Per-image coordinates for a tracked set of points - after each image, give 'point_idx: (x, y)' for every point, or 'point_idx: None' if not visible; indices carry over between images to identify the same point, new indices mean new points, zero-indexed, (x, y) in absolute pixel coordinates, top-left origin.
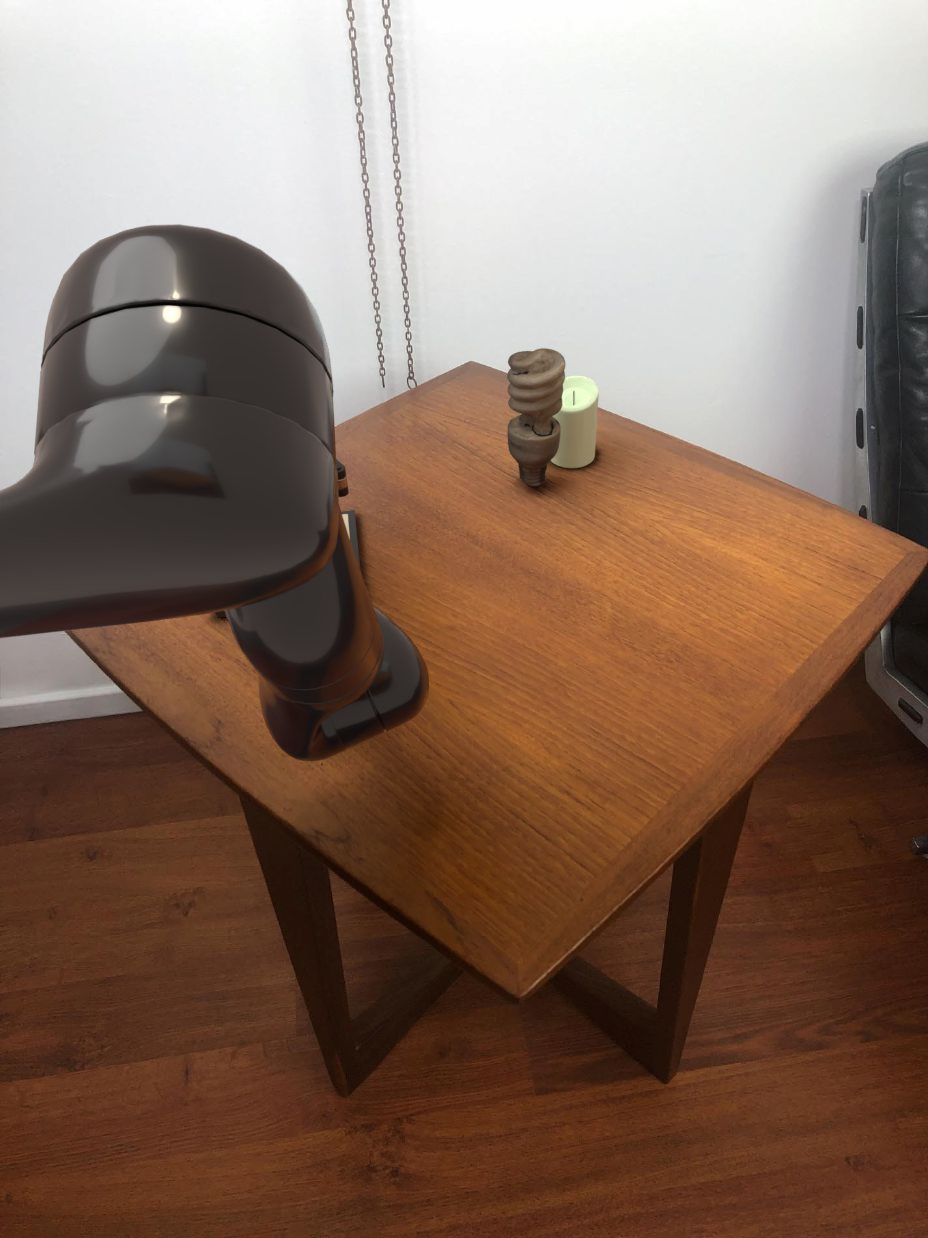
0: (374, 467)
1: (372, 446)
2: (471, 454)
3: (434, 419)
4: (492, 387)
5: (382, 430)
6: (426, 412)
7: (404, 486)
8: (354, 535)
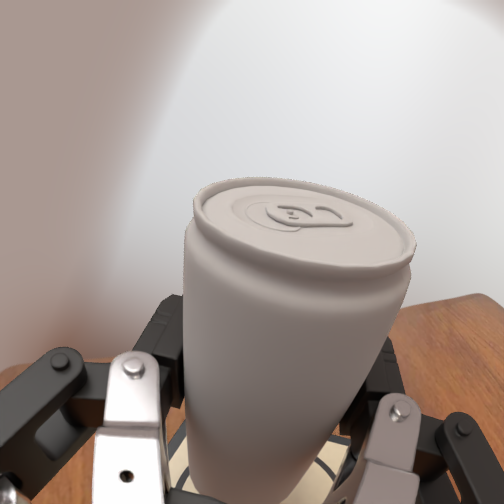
0: (414, 373)
1: (413, 343)
2: (500, 388)
3: (466, 332)
4: (501, 317)
5: (422, 327)
6: (458, 322)
7: (443, 415)
8: None
